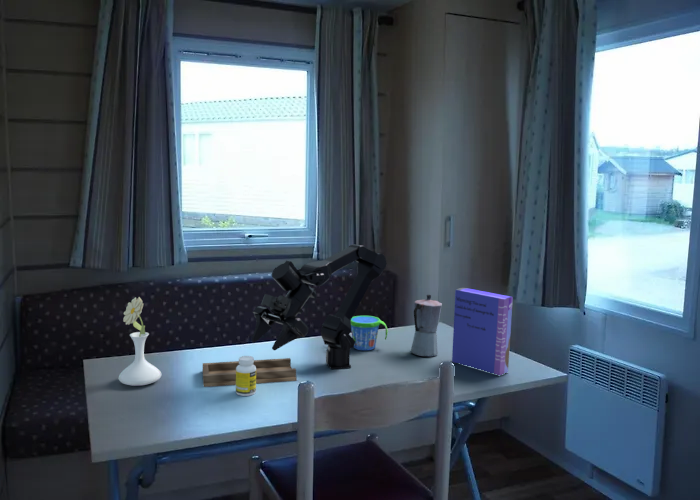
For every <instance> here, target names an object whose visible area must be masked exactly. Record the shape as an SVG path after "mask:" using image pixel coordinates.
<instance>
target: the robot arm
mask: <svg viewBox="0 0 700 500" xmlns="http://www.w3.org/2000/svg"><path fill="white" fill-rule="evenodd" d="M354 262H357V265H356V266H357V268H356V270H357V274H356V276H355V278H354V280H353V282H352V284H351V285H350V287H349V289H348V291H347V293H346V295H345V297H344V299H343V301H342V302H341V304H340V306H339V308H338V310H337V312H335V313H334V314H333V315H331V314H327V316H326V317H325V320H324V321H323V323H322V324H321V325H320V326H321V330H320V334H321V338H322V340H323V343H324V345H326V346H327V350H325V353H326V354H325V363H326V365H327V366H328V368H329V369H330V370H337V369H351V368H352V366H351V364H350V360H351V359H350V355H351V354H350V353H351V349H353V348H354V344H355V340H354V339H353V338H352V335H350V334H351V319H352V317H354V316H355V313H356V311H357V309H358V308H359V305H360V303H361V301H362V300H363V297H364V296H365V294H366V292H367V290H368V288H369V287H370V285H371V283H372V282H373V281H374V280H375V279H377V278H378V277H380V276H381V275H382V273H383V272H384V271H385V269H386V268H387V264H388V262H387V260H386V256H385V255H384V254H383V253H377V252H375V251H373V250H370V249H368V248H367V247H365V246H364V245H360V244H354V243H352V244H350V245H348V247H345V249H342V250H340V251H338V252H337V253H334V254H333V255H331V256H328V257H327V258H325V259H323V260H318V261H311V262H308V263H306V264H303V265H302V266H301V267H300V268H297V267H295V265H294V263H293V262H292V261H290V260H285V261H284V263H280V264H279V265H277V266H276V267H275V268H274V269H273V270H272V272H271V277H272V279H273V280H274V281H275V282H276V284H278V285H279V286H280V287H281V289H282V290H283V291H285V292H287V294H285V296H284V295H278V297H277V296H273V295H270V294H267V293H264V296H263V298H262V301H261V304H260V305H259V306H256V307H255V308H254V310H253V311H252V314H253V315H254V318H255V321H256V322H255V323H256V324H255V328H254V332H253V334H252V337H251V342H252V343H253V344H255V343H256V342H257V341H259V340H260V339H261V338H262V337H263V336H264V335H265V334H267V333H268V332H269V331H270V330H271V329H272V326H273V325H274V324H275V323H277V324H280V325H281V326H282V327H281V332H280V333H279V334H278V337H277V338H276V340H274V341H275V342H274V343H273V344H272V347H271V350H273V351H276V350H279V349H280V348H281V347H284V346H285V345H286V344H289V343H290V342H293V341H295V340H297V339H301V337H302V338H305V337H306V335H307V334H308V332H309V327H308V326H307V324H306V323H305V321H303V319H301V318H300V317H297V316H298V314H300V315H302V314H303V312H304V310H303V309H302V308H303V307H304V305H305V304H306V302H307V301H308V300H309V298H312V299H317V293H316V292H317V291H316V289H317V288H314V287H311V286H310V285H313V286H317V287H321V286H323V285H324V284H325V283H326V282H328V281H329V280H330V279H331V276H332V275H333V274H334V273H336V272H337V271H339V270H341V269H343V268H345V267H346V266H348V265H350V264H352V263H354ZM264 306H265V307H264ZM267 307H268V308H267ZM354 349H355V348H354Z"/></svg>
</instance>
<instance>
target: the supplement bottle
mask: <svg viewBox="0 0 700 500" xmlns="http://www.w3.org/2000/svg"><path fill="white" fill-rule="evenodd" d="M254 360H255V358H254V357H253V356H251V355H242V356H239V358H238V361H239V364H240V365H238V366H237V367H236V385H235V393H236V394H237V395H238V396H241V397H248V396H253V395H254V394H255V393H257V383H256V366H255V365H253V363H254Z"/></svg>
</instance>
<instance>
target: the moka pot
mask: <svg viewBox="0 0 700 500" xmlns="http://www.w3.org/2000/svg"><path fill="white" fill-rule="evenodd" d="M413 304H414V305H413V306H414V309H413V317H414V318H413V319H414V328H415V329H414V330H415V331H414V335H413V339H412V344H411V349H410V353H412V354H414V355H415V356H419V357H436V356H438V354H439V351H438V334H437V331H438V327H439V323H440V316H441V312H442V311H441V310H442V306H443V303H441V302H439V300H433V299H432V294H426V299H418V300H414V303H413Z"/></svg>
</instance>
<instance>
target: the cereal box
mask: <svg viewBox="0 0 700 500" xmlns="http://www.w3.org/2000/svg"><path fill="white" fill-rule="evenodd" d="M453 311H454V317H453V333H452V335H453V336H452V355H451V363H453V362H454V363H453V364H456V363H460V364H463V365H467V366H471V367H474V368H477V369H481V370H484V371H487V372H490V373H494V374H497V375H502V374H504V373H507V372H508V373H509V361H510V345H511V333H512V332H511V329H512V317H513V315H512V312H513V296H509V295H503V294H499V293H493V292H489V291H484V290H483V291H482V290H478V289H472V288H467V287H459V288H457V289H455V293H454V310H453ZM463 365H462V366H463ZM508 373H507V374H508ZM502 376H503V375H502Z"/></svg>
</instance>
